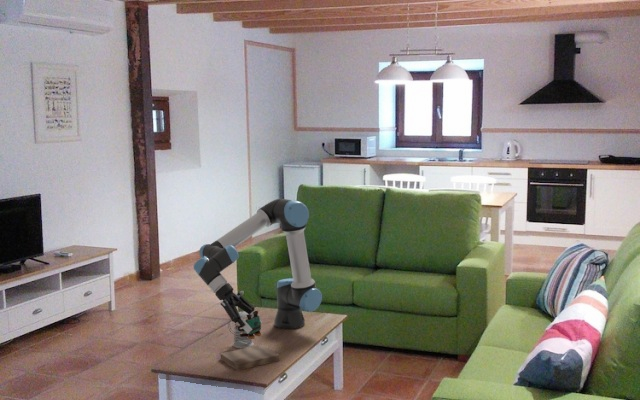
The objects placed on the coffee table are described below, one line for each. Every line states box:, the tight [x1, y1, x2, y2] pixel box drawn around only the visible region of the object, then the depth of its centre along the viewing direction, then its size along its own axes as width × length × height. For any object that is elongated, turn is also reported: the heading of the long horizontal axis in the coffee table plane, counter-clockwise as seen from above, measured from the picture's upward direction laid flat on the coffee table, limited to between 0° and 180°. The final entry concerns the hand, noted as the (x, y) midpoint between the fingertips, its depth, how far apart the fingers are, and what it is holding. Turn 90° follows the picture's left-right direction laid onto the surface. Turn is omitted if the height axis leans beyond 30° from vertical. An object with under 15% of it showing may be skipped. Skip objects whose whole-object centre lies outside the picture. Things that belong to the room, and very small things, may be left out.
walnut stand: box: [219, 344, 281, 371], centre depth 292 cm, size 20×16×2 cm
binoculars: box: [238, 310, 262, 340], centre depth 291 cm, size 9×11×10 cm
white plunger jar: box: [227, 290, 255, 349], centre depth 311 cm, size 10×12×25 cm
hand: (255, 328), depth 289 cm, fingers closed on binoculars, 9 cm apart
